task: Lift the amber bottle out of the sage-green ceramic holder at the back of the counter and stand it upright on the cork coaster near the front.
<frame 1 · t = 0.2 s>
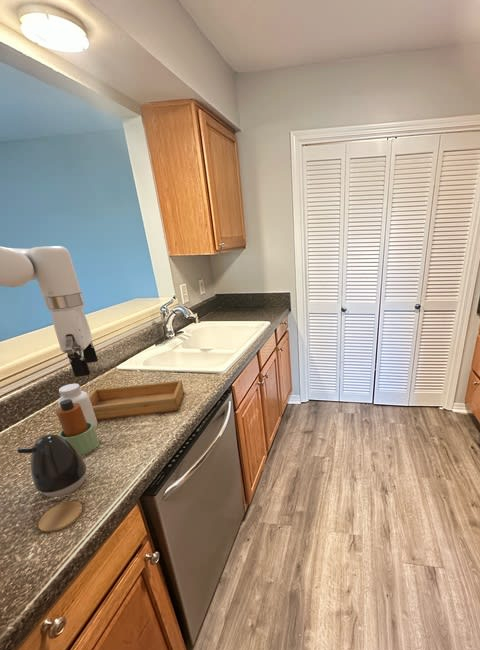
hand: (87, 368, 83), 25 cm above the countertop, tool pointing down, fingers open, 9 cm apart
bottle: (82, 446, 94), resting on holder
holder: (83, 448, 94), on the countertop
tray: (136, 407, 115), on the countertop, touching pill bottle
coaster: (61, 516, 71), on the countertop
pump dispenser: (66, 489, 79), on the countertop
pill bottle: (84, 429, 104), on the countertop, touching tray
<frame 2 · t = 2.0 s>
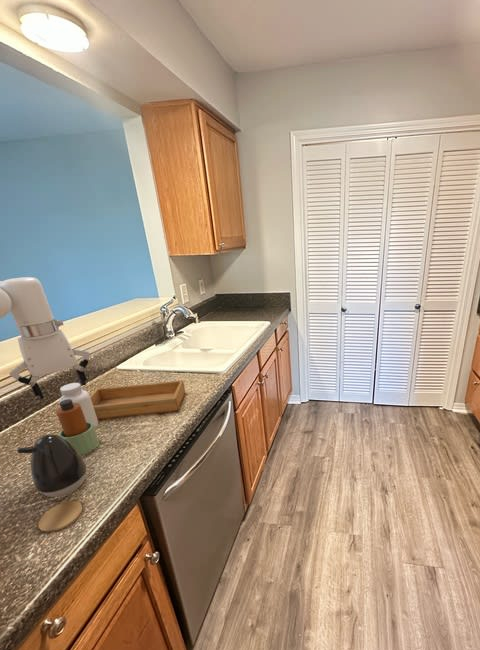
hand: (63, 390, 87), 19 cm above the countertop, tool pointing down, fingers open, 9 cm apart
nothing on the countertop moved.
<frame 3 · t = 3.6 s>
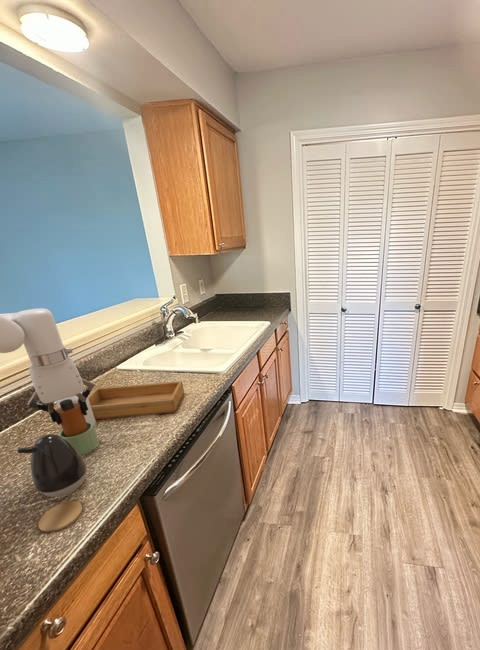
hand: (71, 417, 90), 10 cm above the countertop, tool pointing down, fingers closed on bottle, 5 cm apart
bottle: (82, 446, 94), point 1 cm above the countertop, touching gripper, holder
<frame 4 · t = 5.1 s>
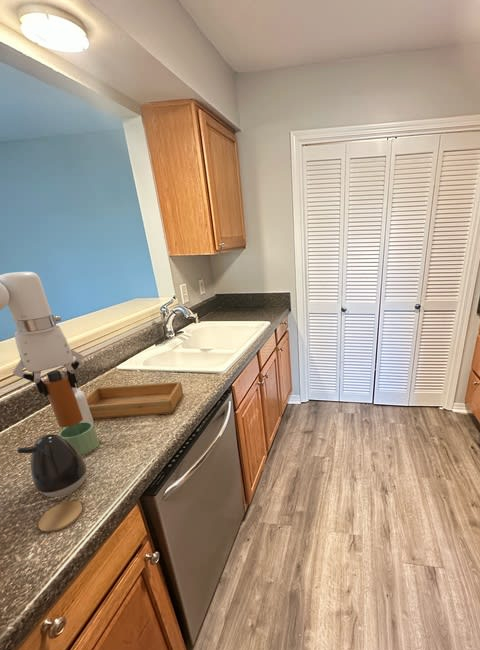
hand: (59, 389, 86), 19 cm above the countertop, tool pointing down, fingers closed on bottle, 5 cm apart
bottle: (71, 421, 90), point 9 cm above the countertop, touching gripper
pill bottle: (80, 427, 105), on the countertop, touching tray
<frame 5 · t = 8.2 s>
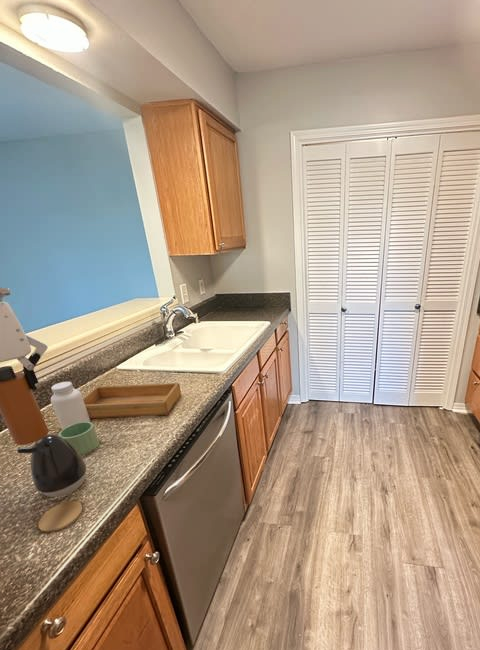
hand: (12, 393, 62), 29 cm above the countertop, tool pointing down, fingers closed on bottle, 5 cm apart
bottle: (32, 436, 65), point 19 cm above the countertop, touching gripper
pill bottle: (77, 426, 105), on the countertop, touching tray
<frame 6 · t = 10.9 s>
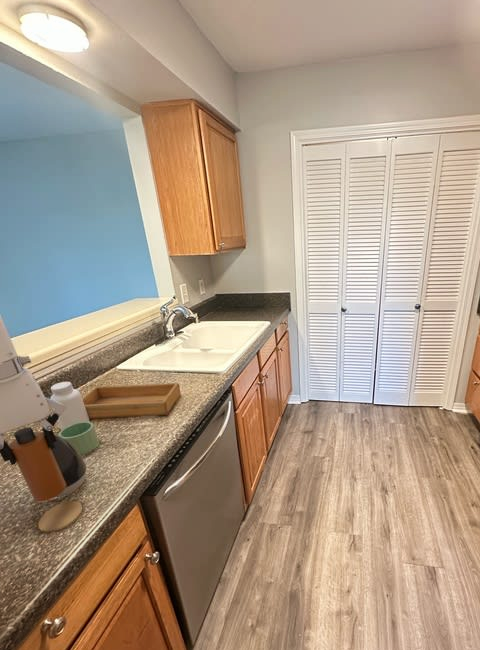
hand: (32, 452, 64), 17 cm above the countertop, tool pointing down, fingers closed on bottle, 5 cm apart
bottle: (50, 491, 68), point 7 cm above the countertop, touching gripper
when the fingers open (10 cm above the countertop, at t = 12.9 s): bottle stays where it is, resting on coaster.
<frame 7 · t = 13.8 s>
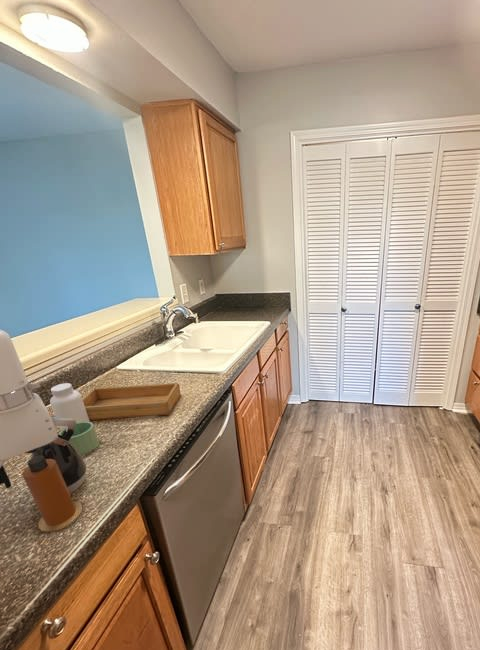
hand: (38, 471, 66), 13 cm above the countertop, tool pointing down, fingers open, 9 cm apart
bottle: (61, 515, 71), resting on coaster
pill bottle: (76, 428, 104), on the countertop, touching tray
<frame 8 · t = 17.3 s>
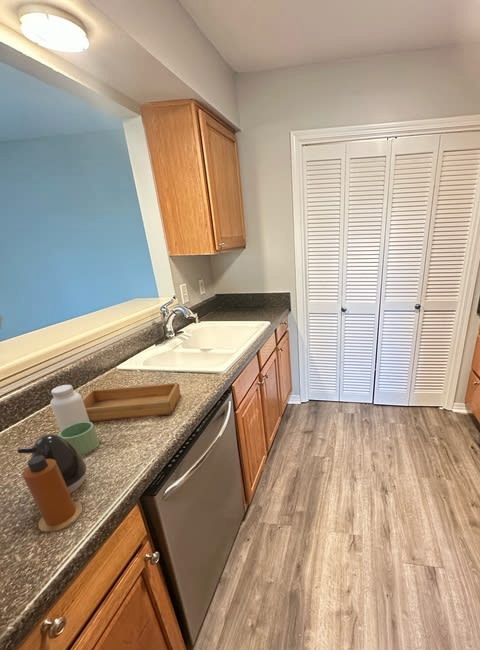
pill bottle: (77, 430, 103), on the countertop, touching tray
at the end: bottle 0.1 cm off-centre on the coaster, point 0.5 cm above the coaster's base; bottle tilted 0°; bottle touching coaster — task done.
